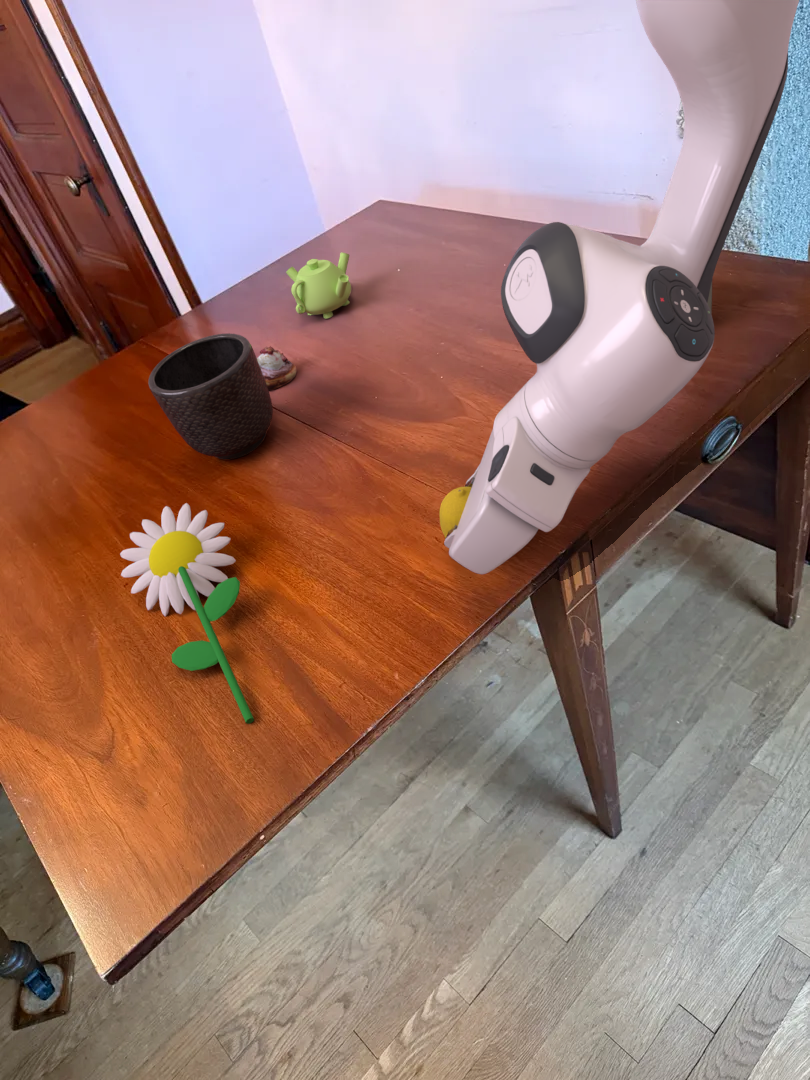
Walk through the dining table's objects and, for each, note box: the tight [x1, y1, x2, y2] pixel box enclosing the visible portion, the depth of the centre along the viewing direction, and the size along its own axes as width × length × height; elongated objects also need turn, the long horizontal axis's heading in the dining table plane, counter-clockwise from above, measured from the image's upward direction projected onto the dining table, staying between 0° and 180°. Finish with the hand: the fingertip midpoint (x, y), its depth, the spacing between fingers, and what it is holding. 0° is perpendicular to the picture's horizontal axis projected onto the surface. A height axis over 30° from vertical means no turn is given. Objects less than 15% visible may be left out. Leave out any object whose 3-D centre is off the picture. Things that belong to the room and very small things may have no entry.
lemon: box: [438, 486, 472, 539], centre depth 74 cm, size 6×6×8 cm
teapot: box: [285, 252, 352, 320], centre depth 124 cm, size 11×12×8 cm
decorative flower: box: [119, 502, 255, 725], centre depth 78 cm, size 13×5×30 cm
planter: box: [147, 332, 274, 461], centre depth 99 cm, size 14×14×13 cm
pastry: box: [256, 345, 297, 391], centre depth 112 cm, size 8×8×5 cm
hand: (461, 516), depth 74 cm, fingers open, 6 cm apart
